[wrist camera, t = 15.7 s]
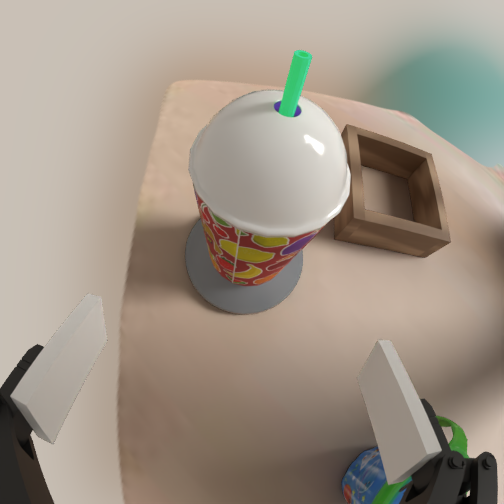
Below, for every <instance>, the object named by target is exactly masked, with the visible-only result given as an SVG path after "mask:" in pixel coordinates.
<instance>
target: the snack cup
mask: <svg viewBox="0 0 504 504" xmlns="http://www.w3.org/2000/svg"><path fill="white" fill-rule="evenodd" d="M435 417H437V419H438V421H439V424H440V426H441V427H442V426H443V427H450V426H451V428H452V432H453V438H452V440H451V441H450V443H449V447H450V449H451V450H452V451H453V450H454V451H458V452H459V453H461V454H462V455H463V457H464V458H469V457H468V455H467V438H466V436H465V433H464V431H463V430H462V429H461V427H460V426H458V425H457V424H456V423H454V422H453V421H451V420H449V419H447V418H444V417H440V416H435ZM410 481H412V478H411V476H410V477H408V478H407V479H406V480H404V481H403V482H399V483H395V484H390V485H388V482H387V478H386V474H385V470H384V467H383V463H382V459H381V455H380V452H379V448H378V447H375V448H373V449H371V450H367V451H364V452H363V453H361V454H360V455H359V457H358V458H357V459H356V460H355V461H354V462H352V464H351V466H350V467H349V469H348V470H347V472H346V474H345V476H344V477H343V479H342V491H343V495H344V497H345V499H346V501H347V503H348V504H399V503H400V501H401V499H402V497H403V495H404V494H403V493H404V492H405V490H406V489H404V490H403V491H401V492H399V490H400V489H401V488H402V487H403V486H405V485H406V484H408V483H409V482H410ZM466 495H467V492H466Z"/></svg>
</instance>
